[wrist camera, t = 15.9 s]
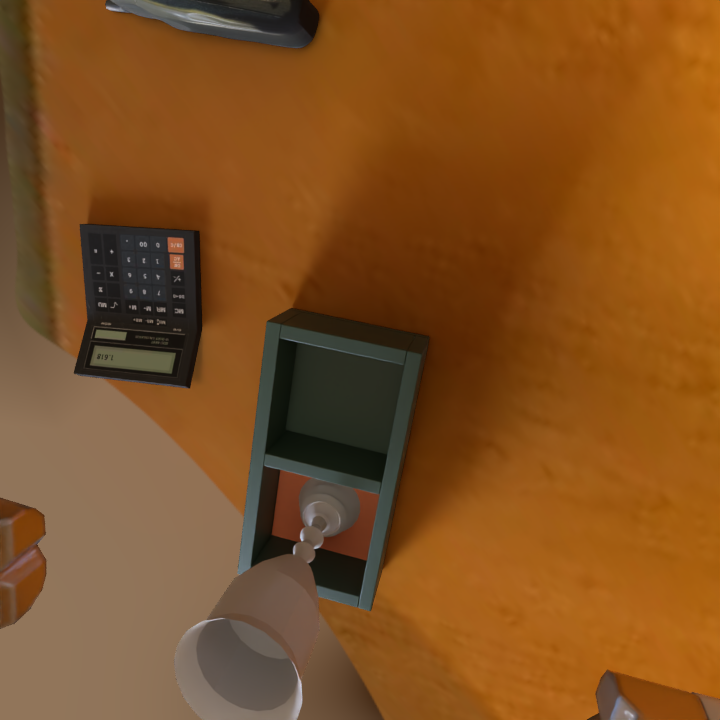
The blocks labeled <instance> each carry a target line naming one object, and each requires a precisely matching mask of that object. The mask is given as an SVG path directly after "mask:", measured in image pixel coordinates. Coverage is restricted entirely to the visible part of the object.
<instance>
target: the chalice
mask: <svg viewBox="0 0 720 720" xmlns="http://www.w3.org/2000/svg"><path fill="white" fill-rule="evenodd" d="M299 507H300V516H301V519H302V522H303V524H304V525H305V526H306V527H305V528H303V529H302V531H301V533H300V538H301V541H302V542H298V543H297V544H295V546H294V548H293V554H294V555H293V554H286V555H281V556H278V557H275V558H272V559H269V560H265V561H262V562H260V563H259V564H257V565H255V566H254V567H252V568H250V569H249V570H247V571H245V572H244V573H242V574H240V575H239V576H237V577H236V578H234V580H233V581H232V583H231V584H230V585H229V587H228V588H227V590H226V591H225V593H224V594H223V596H222V597H221V599H220V600H219V602H218V603H217V605H216V606H215V608H214V609H213V611H212V612H211V614H210V615H209V617H208V618H207V620H204V621H202V622H200V623H199V624H197V625H195V626H194V627H192V628H191V629H189V630H187V631H186V633H185V634H184V636H183V637H182V639H181V640H180V642H179V643H178V645H177V650H176V654H175V659H174V665H175V674H176V680H177V682H178V685H179V687H180V690H181V692H182V694H183V697H184V698H185V700H186V701H187V702H188V704H189V705H190V706H191V708H192V709H193V710H194V712H195V713H196V714H197V715H198V716H199V717H200V718H202V719H203V720H297V718H298V715H299V711H300V708H301V705H302V687H301V679H302V676H303V674H304V671H305V669H306V666H307V664H308V661H309V659H310V656H311V653H312V651H313V648H314V645H315V643H316V640H317V636H318V633H319V603H318V593H317V589H316V584H315V580H314V576H313V572H312V570H311V567H310V566H309V564H308V563H310V562H312V561H313V559H314V558H315V551H314V549H316V548H319V547H320V546H321V545H322V544H323V541H324V538H323V537H331V536H335V535H337V534H339V533H341V532H343V531H345V530H347V529H349V528H350V527H352V526H353V524H354V523H355V522H356V521H357V519H358V516H359V514H360V501H359V498H358V495H357V493H356V492H355V490H354V489H353V488H351V487H347V486H343V485H339V484H335V483H331V482H327V481H323V480H319V479H315V478H311V479H310V480H308V481H307V482H306V483H305V484H304V485H303V487H302V488H301V491H300V494H299Z"/></svg>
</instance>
